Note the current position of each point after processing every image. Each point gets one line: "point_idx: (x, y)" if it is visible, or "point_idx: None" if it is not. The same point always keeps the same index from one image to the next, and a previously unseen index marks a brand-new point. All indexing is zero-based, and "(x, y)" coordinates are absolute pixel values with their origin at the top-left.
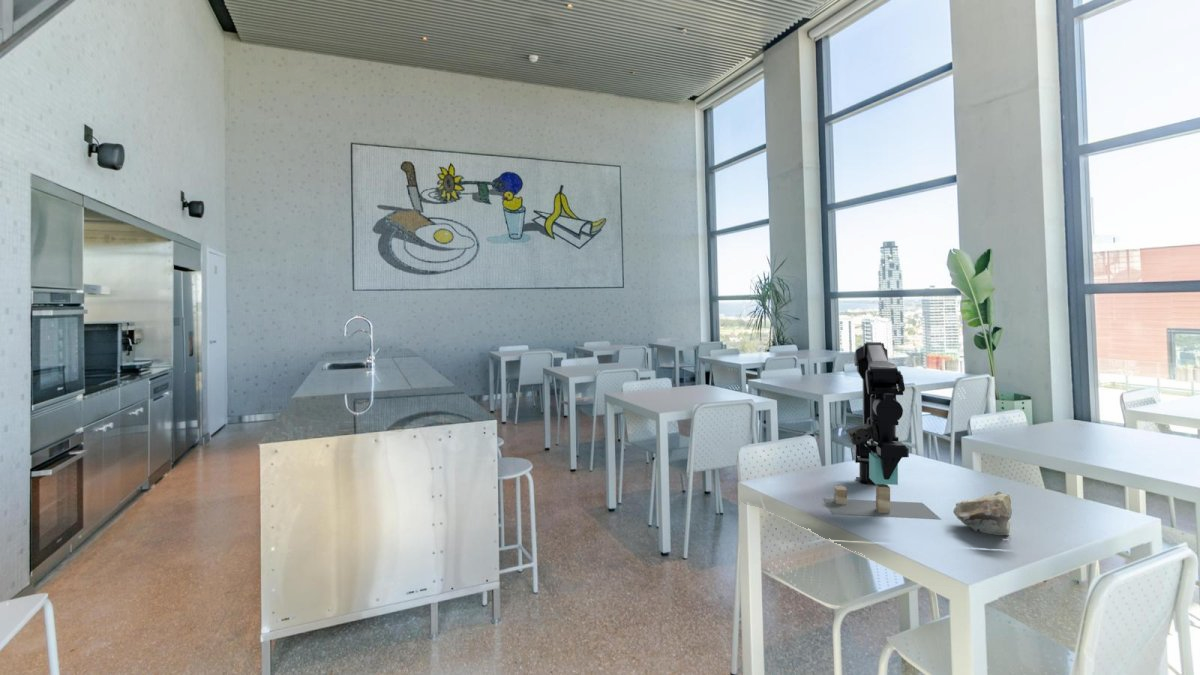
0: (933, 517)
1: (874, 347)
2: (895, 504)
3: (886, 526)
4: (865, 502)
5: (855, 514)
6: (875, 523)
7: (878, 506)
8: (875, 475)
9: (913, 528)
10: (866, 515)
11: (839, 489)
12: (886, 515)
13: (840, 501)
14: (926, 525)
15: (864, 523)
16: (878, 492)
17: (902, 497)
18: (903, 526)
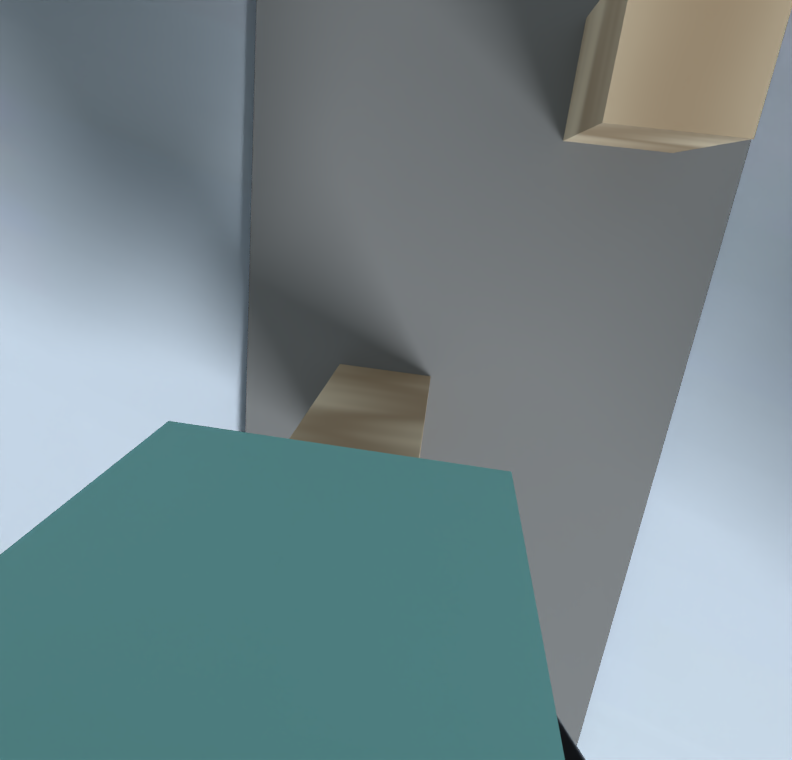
0: None
1: None
2: (540, 575)
3: (74, 300)
4: (614, 357)
5: (271, 121)
6: (123, 239)
7: (347, 382)
8: (75, 495)
9: (75, 471)
10: (256, 221)
11: (629, 2)
12: (276, 394)
13: (582, 58)
14: None
15: (106, 139)
16: (310, 438)
17: (743, 705)
18: (100, 424)
